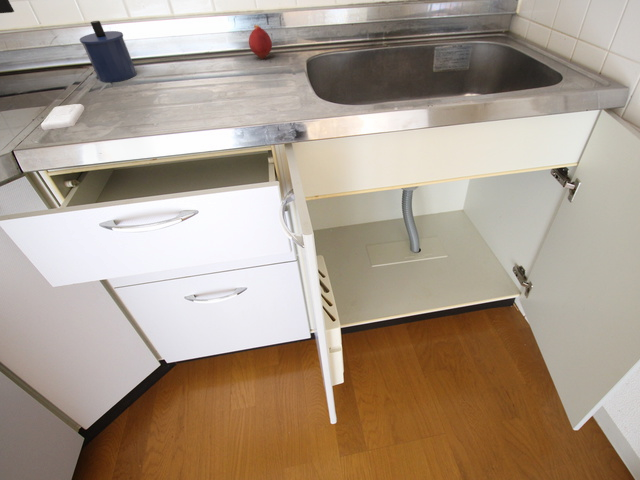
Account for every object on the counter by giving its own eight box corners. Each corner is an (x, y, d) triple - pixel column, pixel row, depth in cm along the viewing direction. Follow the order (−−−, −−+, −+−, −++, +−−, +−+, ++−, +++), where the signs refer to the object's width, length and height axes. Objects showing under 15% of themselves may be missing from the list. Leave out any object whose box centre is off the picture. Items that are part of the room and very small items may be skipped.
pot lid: (75, 42, 93) (66, 23, 90) (114, 34, 98) (107, 15, 95) (90, 49, 88) (81, 28, 86) (131, 39, 93) (123, 20, 90)
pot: (93, 77, 99) (76, 40, 93) (127, 68, 103) (112, 31, 97) (108, 85, 94) (90, 46, 88) (142, 74, 99) (128, 37, 93)
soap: (61, 120, 79) (53, 105, 77) (90, 116, 80) (82, 102, 78) (47, 140, 73) (38, 124, 71) (78, 135, 74) (70, 120, 72)
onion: (267, 54, 108) (261, 20, 102) (278, 58, 104) (272, 24, 99) (248, 58, 105) (241, 24, 99) (259, 63, 102) (252, 28, 96)
